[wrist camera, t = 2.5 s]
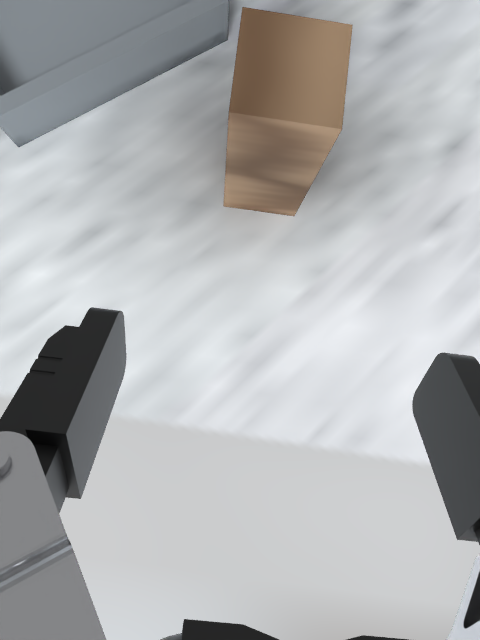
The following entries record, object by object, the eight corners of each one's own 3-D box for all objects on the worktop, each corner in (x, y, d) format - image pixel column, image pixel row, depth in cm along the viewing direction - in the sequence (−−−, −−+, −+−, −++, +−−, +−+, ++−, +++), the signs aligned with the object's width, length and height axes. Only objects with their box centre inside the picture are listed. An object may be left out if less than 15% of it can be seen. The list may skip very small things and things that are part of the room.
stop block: (301, 149, 27) (352, 25, 17) (294, 216, 26) (341, 129, 16) (232, 138, 27) (242, 6, 17) (223, 206, 26) (228, 112, 16)
